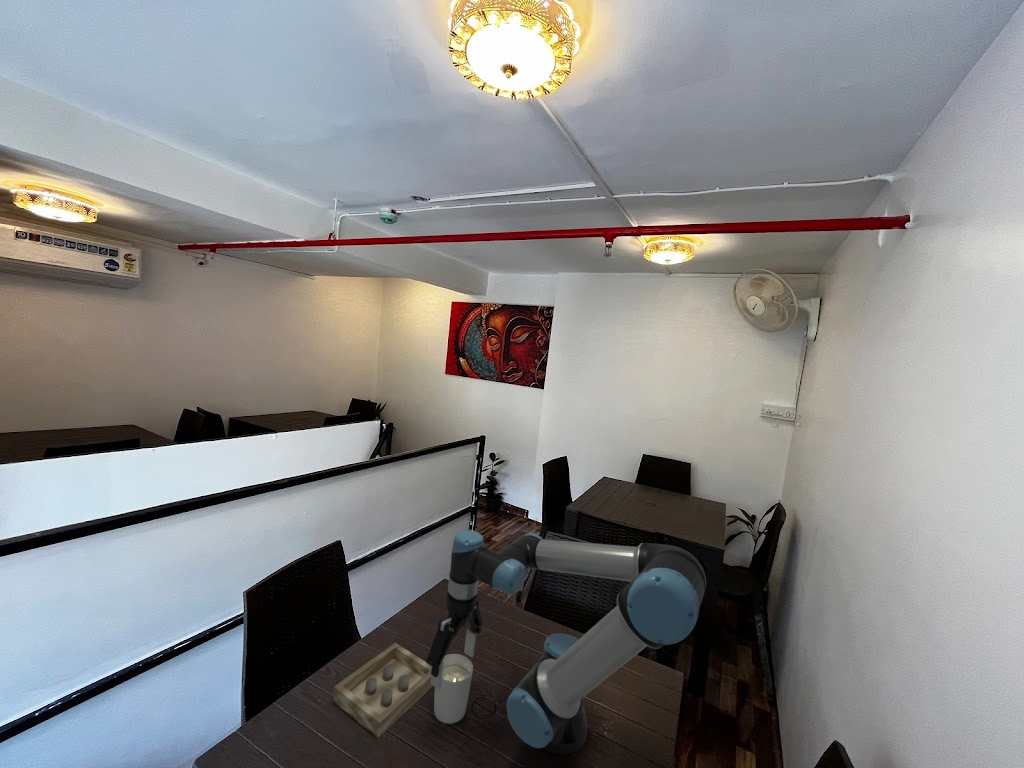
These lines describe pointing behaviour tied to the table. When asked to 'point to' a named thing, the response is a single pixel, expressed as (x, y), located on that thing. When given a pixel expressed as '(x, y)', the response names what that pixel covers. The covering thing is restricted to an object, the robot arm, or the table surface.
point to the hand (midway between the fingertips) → (453, 669)
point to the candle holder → (453, 689)
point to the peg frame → (384, 688)
